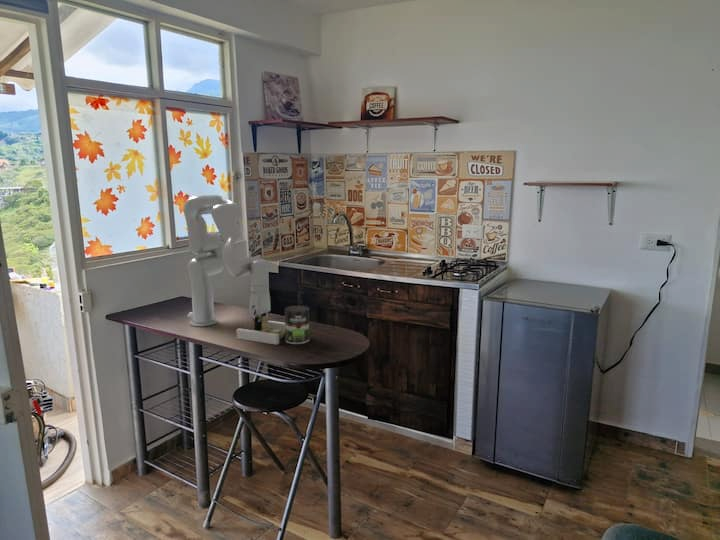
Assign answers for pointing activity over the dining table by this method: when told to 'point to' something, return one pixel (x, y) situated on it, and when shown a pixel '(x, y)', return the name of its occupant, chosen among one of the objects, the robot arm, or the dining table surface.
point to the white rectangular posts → (262, 333)
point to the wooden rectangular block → (270, 330)
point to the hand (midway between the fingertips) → (261, 328)
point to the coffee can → (297, 324)
